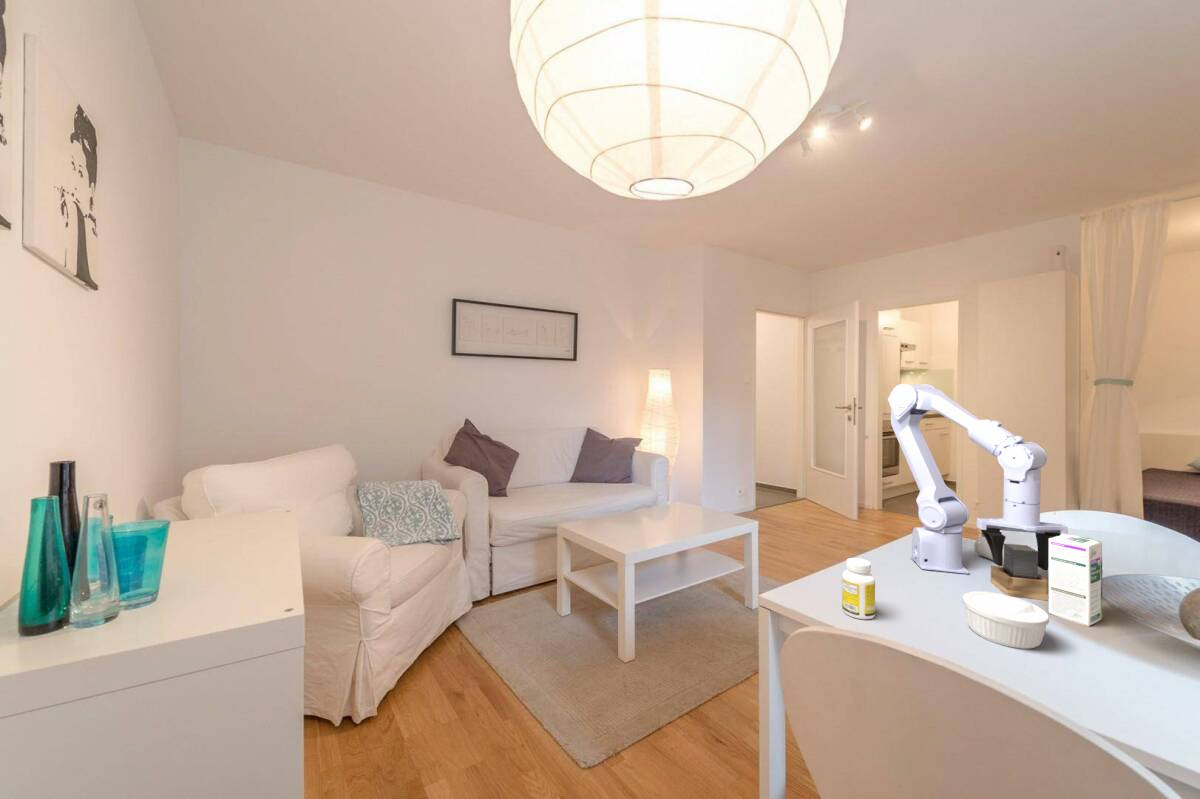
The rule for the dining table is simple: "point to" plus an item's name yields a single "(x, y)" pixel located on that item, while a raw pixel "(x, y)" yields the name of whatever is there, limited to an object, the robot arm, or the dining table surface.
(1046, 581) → the oak dock
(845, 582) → the supplement bottle
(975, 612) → the ramekin
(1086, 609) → the syrup box
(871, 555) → the dining table surface
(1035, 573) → the matte charcoal brick
